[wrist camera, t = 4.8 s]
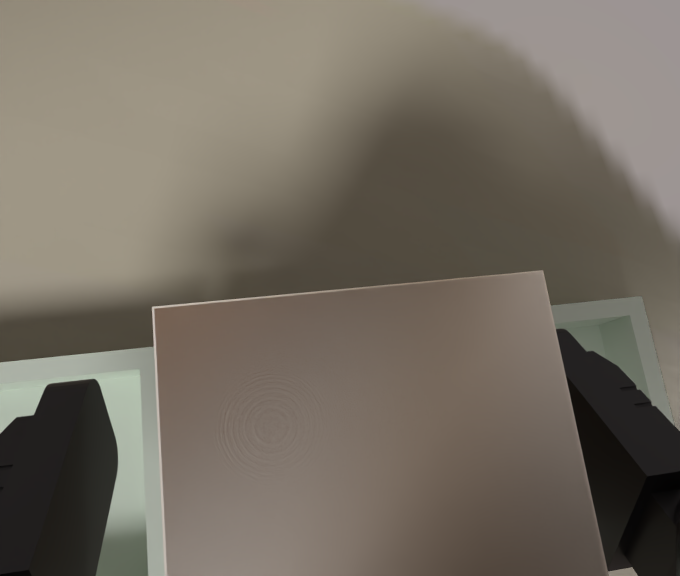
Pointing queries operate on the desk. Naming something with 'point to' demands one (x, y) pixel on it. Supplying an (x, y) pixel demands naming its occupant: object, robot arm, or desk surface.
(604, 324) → the tray
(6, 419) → the tray
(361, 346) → the brown wooden block
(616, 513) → the robot arm
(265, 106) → the desk surface
